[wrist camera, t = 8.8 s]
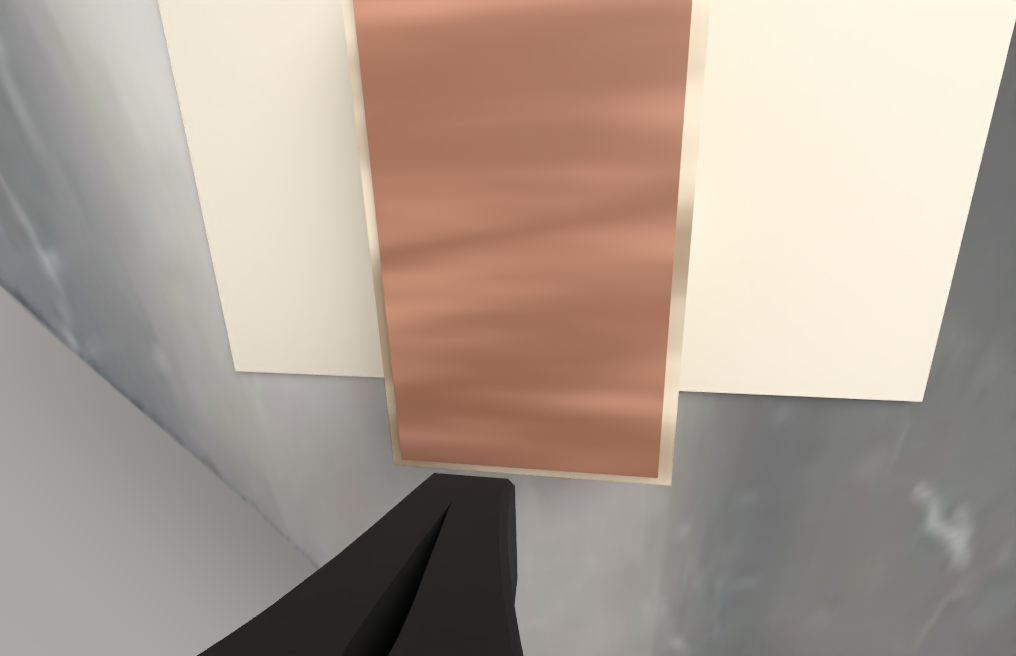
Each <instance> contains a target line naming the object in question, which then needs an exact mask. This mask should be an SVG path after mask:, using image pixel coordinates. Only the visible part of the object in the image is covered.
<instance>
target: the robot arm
mask: <svg viewBox="0 0 1016 656" xmlns="http://www.w3.org/2000/svg"><path fill="white" fill-rule="evenodd" d="M516 586H517V545H516V510H515V486H514V485H513V484H512V483H511V482H510V481H509V480H508V479H503V478H490V477H477V476H464V475H451V474H438V473H434V474H432V475H431V476H430V477H429V478H428V479H426V480H425V481H424V482H423V483H422V484H420V485H419V486H418V487H417V488H416V489H415V490H414V491H412V492H411V493H410V494H409V495H408V496H407V497H405V498H404V499H403V500H402V501H401V502H400V503H398V504H397V505H396V506H395V507H394V508H393V509H392V510H390V511H389V512H388V513H387V514H386V515H385V516H383V517H382V518H381V519H380V520H379V521H378V522H376V523H375V524H374V525H373V526H372V527H371V528H369V529H368V530H367V531H366V532H365V533H363V534H362V535H361V536H360V537H359V538H357V539H356V540H355V541H354V542H353V543H351V544H350V545H349V546H348V547H347V548H345V549H344V550H343V551H342V552H341V553H339V554H338V555H337V556H336V557H334V558H333V559H332V560H330V561H329V562H328V563H327V564H325V565H324V566H323V567H321V568H320V569H319V570H317V571H316V572H315V573H314V574H312V575H311V576H310V577H308V578H307V579H306V580H304V581H303V582H302V583H300V584H299V585H298V586H296V587H295V588H294V589H293V590H291V591H290V592H289V593H287V594H286V595H285V596H283V597H282V598H281V599H279V600H278V601H277V602H276V603H274V604H273V605H271V606H270V607H269V608H267V609H266V610H264V611H263V612H262V613H260V614H259V615H257V616H256V617H255V618H253V619H252V620H250V621H249V622H248V623H246V624H244V625H243V626H241V627H240V628H238V629H237V630H236V631H234V632H233V633H231V634H230V635H228V636H226V637H225V638H224V639H222V640H220V641H219V642H217V643H216V644H214V645H213V646H211V647H210V648H208V649H207V650H205V651H204V652H202V653H200V654H199V655H197V656H523V651H522V646H521V641H520V636H519V630H518V624H517V618H516V613H515V606H514V605H515V595H516Z"/></svg>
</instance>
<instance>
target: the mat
mask: <svg viewBox="0 0 1016 656" xmlns="http://www.w3.org/2000/svg"><path fill="white" fill-rule="evenodd" d="M158 4H159V9H160V14H161V18H162V23H163V28H164V33H165V37H166V42H167V47H168V52H169V57H170V61H171V66H172V71H173V76H174V80H175V85H176V90H177V95H178V99H179V104H180V109H181V114H182V119H183V123H184V128H185V133H186V138H187V142H188V147H189V152H190V157H191V161H192V166H193V171H194V176H195V181H196V185H197V190H198V195H199V200H200V204H201V209H202V214H203V219H204V223H205V228H206V233H207V238H208V243H209V247H210V252H211V257H212V262H213V266H214V271H215V276H216V281H217V285H218V290H219V295H220V300H221V305H222V309H223V314H224V319H225V324H226V328H227V333H228V338H229V343H230V347H231V352H232V357H233V362H234V367H235V371H244V372H267V373H289V374H312V375H334V376H357V377H379V378H384V372H383V363H382V355H381V346H380V337H379V328H378V319H377V310H376V301H375V292H374V283H373V275H372V266H371V257H370V248H369V239H368V230H367V221H366V212H365V204H364V195H363V186H362V177H361V168H360V159H359V150H358V141H357V133H356V124H355V115H354V106H353V97H352V88H351V79H350V70H349V61H348V53H347V44H346V35H345V26H344V17H343V8H342V0H158ZM1015 20H1016V0H711V2H710V14H709V27H708V39H707V51H706V63H705V75H704V88H703V100H702V112H701V124H700V136H699V149H698V161H697V173H696V185H695V197H694V210H693V222H692V234H691V246H690V259H689V271H688V283H687V295H686V307H685V320H684V332H683V344H682V356H681V368H680V381H679V391H694V392H716V393H739V394H761V395H784V396H806V397H829V398H851V399H874V400H896V401H919V402H922V400H923V396H924V391H925V387H926V383H927V379H928V375H929V371H930V367H931V363H932V359H933V355H934V351H935V347H936V342H937V338H938V334H939V330H940V326H941V322H942V318H943V314H944V310H945V306H946V302H947V298H948V293H949V289H950V285H951V281H952V277H953V273H954V269H955V265H956V261H957V257H958V253H959V249H960V244H961V240H962V236H963V232H964V228H965V224H966V220H967V216H968V212H969V208H970V204H971V200H972V195H973V191H974V187H975V183H976V179H977V175H978V171H979V167H980V163H981V159H982V155H983V151H984V146H985V142H986V138H987V134H988V130H989V126H990V122H991V118H992V114H993V110H994V106H995V101H996V97H997V93H998V89H999V85H1000V81H1001V77H1002V73H1003V69H1004V65H1005V61H1006V57H1007V52H1008V48H1009V44H1010V40H1011V36H1012V32H1013V28H1014V24H1015Z"/></svg>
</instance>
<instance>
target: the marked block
mask: <svg viewBox="0 0 1016 656" xmlns="http://www.w3.org/2000/svg"><path fill="white" fill-rule="evenodd" d="M710 2H711V0H342V8H343V17H344V26H345V35H346V44H347V53H348V61H349V70H350V79H351V88H352V97H353V106H354V115H355V124H356V133H357V141H358V150H359V159H360V168H361V177H362V186H363V195H364V204H365V212H366V221H367V230H368V239H369V248H370V257H371V266H372V275H373V283H374V292H375V301H376V310H377V319H378V328H379V337H380V346H381V355H382V363H383V372H384V381H385V390H386V399H387V408H388V417H389V426H390V434H391V443H392V452H393V461H394V465H402V466H416V467H429V468H443V469H456V470H470V471H483V472H497V473H510V474H523V475H537V476H550V477H564V478H577V479H591V480H604V481H618V482H631V483H645V484H658V485H671V478H672V466H673V454H674V442H675V429H676V417H677V405H678V393H679V381H680V368H681V356H682V344H683V332H684V320H685V307H686V295H687V283H688V271H689V259H690V246H691V234H692V222H693V210H694V197H695V185H696V173H697V161H698V149H699V136H700V124H701V112H702V100H703V88H704V75H705V63H706V51H707V39H708V27H709V14H710Z"/></svg>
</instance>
